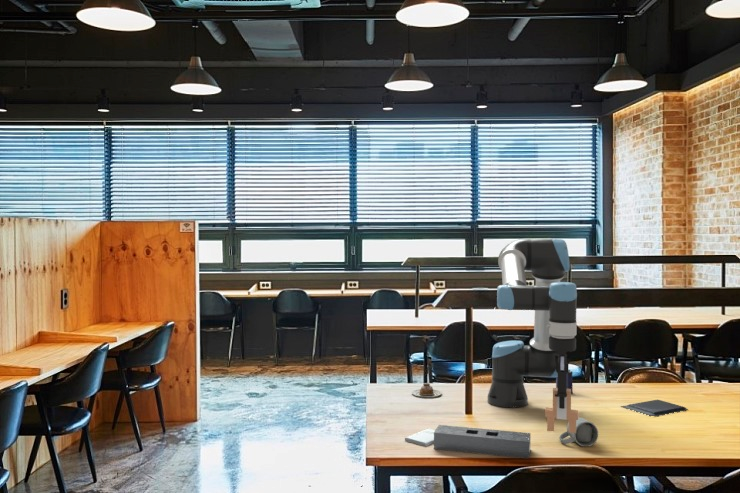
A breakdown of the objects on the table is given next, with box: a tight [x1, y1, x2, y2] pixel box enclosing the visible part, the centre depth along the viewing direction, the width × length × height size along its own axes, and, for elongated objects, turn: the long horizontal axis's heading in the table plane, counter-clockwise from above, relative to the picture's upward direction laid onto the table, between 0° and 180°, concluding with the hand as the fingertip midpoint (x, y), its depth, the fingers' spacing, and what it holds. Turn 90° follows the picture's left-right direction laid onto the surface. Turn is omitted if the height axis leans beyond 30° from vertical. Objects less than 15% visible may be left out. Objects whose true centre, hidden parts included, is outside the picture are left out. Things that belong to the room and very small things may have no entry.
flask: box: [555, 369, 574, 395], centre depth 260 cm, size 9×3×11 cm, turn 21°
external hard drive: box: [404, 428, 436, 447], centre depth 201 cm, size 2×8×12 cm
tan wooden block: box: [544, 387, 579, 433], centre depth 183 cm, size 3×9×12 cm, turn 73°
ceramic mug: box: [558, 416, 599, 447], centre depth 197 cm, size 11×8×8 cm
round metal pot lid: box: [411, 382, 443, 399], centre depth 255 cm, size 12×12×5 cm
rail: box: [433, 424, 531, 460], centre depth 191 cm, size 8×28×5 cm, turn 73°
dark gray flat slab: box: [620, 399, 689, 417], centre depth 235 cm, size 20×2×15 cm
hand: (561, 416), depth 183 cm, fingers closed on tan wooden block, 3 cm apart
